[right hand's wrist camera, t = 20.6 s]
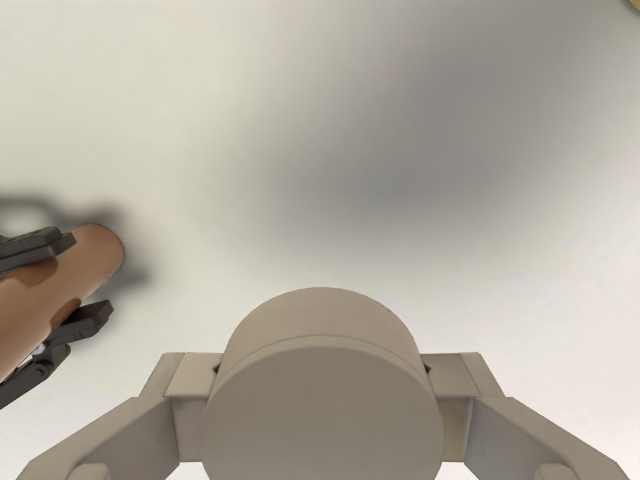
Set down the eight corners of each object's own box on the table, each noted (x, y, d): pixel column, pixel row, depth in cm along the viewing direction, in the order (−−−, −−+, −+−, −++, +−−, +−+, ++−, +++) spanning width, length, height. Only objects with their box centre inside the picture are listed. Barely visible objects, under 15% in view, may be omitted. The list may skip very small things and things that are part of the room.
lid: (251, 261, 10) (230, 315, 7) (451, 318, 10) (488, 385, 8) (204, 423, 11) (176, 508, 9) (379, 465, 12) (393, 554, 10)
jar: (134, 263, 32) (-70, 474, 15) (88, 283, 32) (-159, 506, 16) (103, 215, 30) (-160, 388, 14) (55, 236, 31) (-253, 427, 14)
